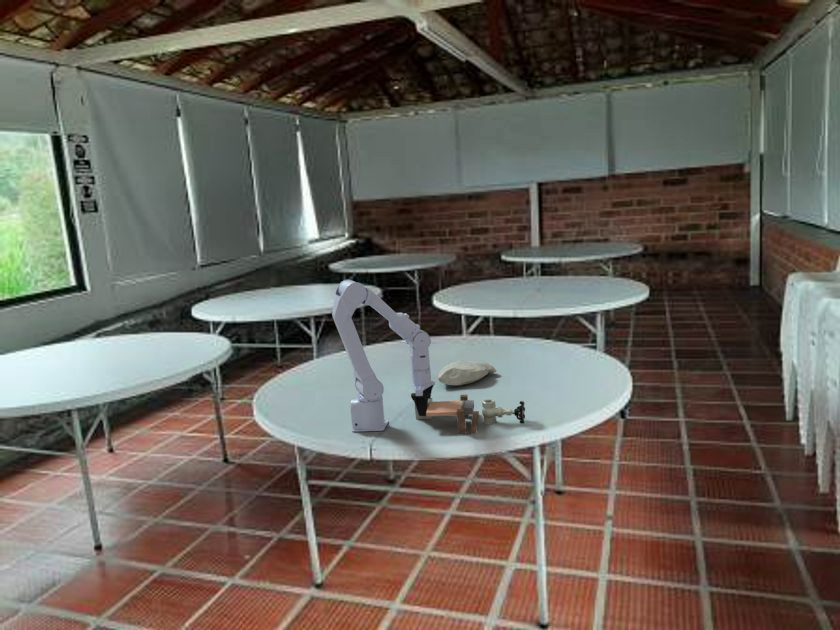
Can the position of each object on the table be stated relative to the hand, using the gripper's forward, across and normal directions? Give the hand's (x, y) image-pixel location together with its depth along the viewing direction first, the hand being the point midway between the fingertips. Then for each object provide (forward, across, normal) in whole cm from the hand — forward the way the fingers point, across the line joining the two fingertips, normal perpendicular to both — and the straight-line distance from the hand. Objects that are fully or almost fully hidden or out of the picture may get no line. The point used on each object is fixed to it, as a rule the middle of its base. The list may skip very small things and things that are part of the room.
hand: (424, 411), depth 200 cm
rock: (+2, +37, -8) cm, 38 cm away
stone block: (+2, 0, 0) cm, 2 cm away
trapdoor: (-3, -8, -9) cm, 12 cm away
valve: (+2, -8, -24) cm, 25 cm away
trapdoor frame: (+2, -8, -14) cm, 16 cm away
